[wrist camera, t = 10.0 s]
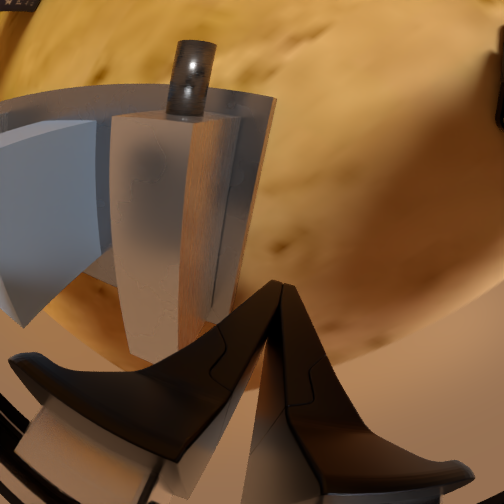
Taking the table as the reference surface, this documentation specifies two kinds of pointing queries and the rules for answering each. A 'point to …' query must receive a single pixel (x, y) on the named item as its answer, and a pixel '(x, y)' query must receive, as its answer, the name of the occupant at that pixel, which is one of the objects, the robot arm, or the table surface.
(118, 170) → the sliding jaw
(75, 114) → the vise
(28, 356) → the robot arm
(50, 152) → the block
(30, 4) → the small box
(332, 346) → the table surface
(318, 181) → the table surface
